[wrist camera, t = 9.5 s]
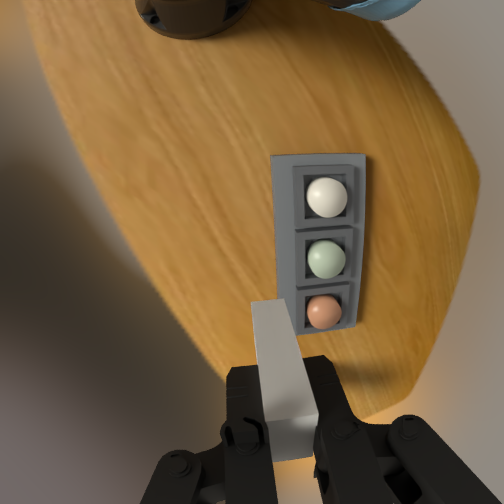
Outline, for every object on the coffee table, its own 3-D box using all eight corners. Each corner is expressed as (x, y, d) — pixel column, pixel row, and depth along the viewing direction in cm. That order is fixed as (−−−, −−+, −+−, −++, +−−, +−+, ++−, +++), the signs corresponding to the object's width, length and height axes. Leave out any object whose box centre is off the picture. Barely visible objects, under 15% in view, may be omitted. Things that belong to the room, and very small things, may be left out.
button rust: (306, 294, 41) (310, 303, 39) (337, 290, 41) (342, 299, 39) (305, 321, 42) (309, 331, 40) (335, 317, 43) (340, 326, 40)
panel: (270, 155, 36) (274, 156, 33) (359, 153, 36) (370, 155, 33) (278, 329, 46) (281, 343, 42) (351, 319, 46) (358, 332, 43)
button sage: (306, 239, 38) (310, 246, 36) (339, 236, 38) (346, 243, 36) (306, 272, 40) (310, 280, 37) (338, 268, 40) (344, 276, 37)
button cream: (304, 177, 35) (309, 179, 33) (340, 175, 35) (347, 178, 33) (305, 213, 37) (310, 219, 34) (340, 211, 37) (347, 216, 34)
